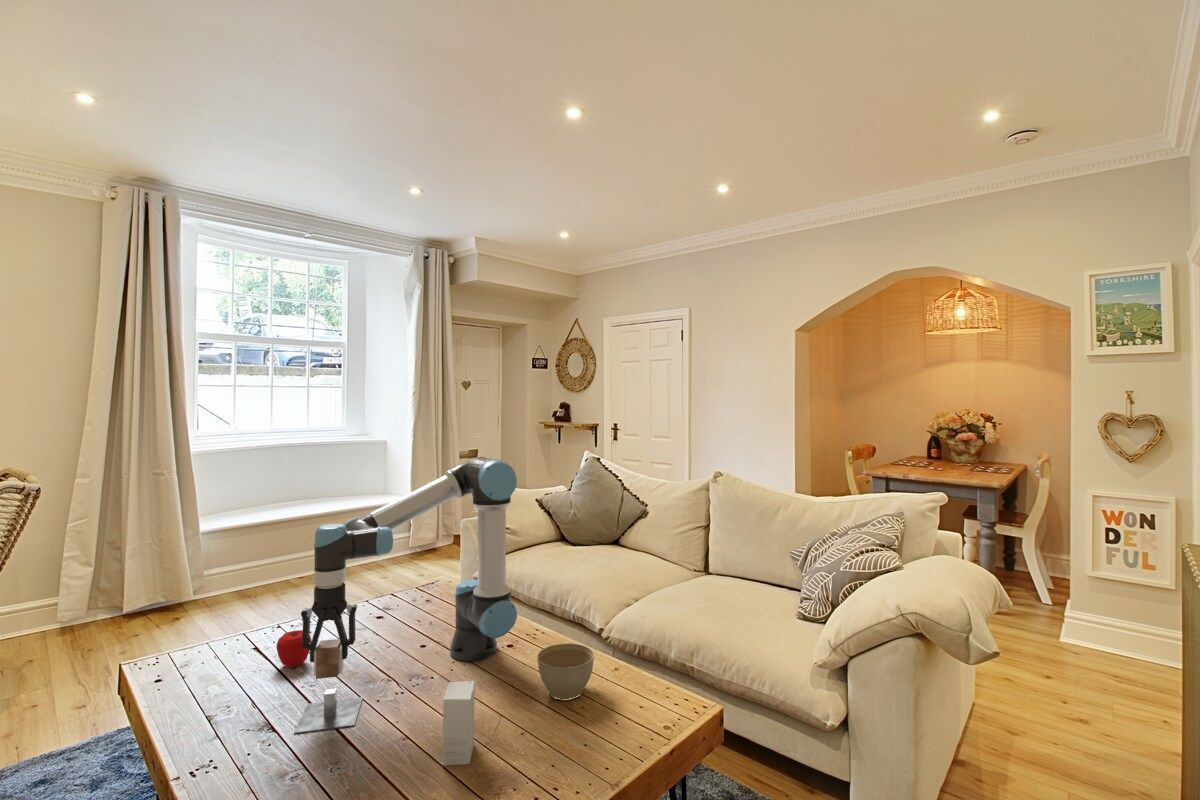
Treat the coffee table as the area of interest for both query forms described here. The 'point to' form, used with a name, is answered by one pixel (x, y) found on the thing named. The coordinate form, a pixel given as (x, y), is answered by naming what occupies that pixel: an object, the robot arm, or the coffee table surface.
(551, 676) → the planter bowl
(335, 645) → the tan wooden block
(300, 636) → the apple
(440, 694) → the coffee table surface
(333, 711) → the grey square base plate
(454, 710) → the skincare box
